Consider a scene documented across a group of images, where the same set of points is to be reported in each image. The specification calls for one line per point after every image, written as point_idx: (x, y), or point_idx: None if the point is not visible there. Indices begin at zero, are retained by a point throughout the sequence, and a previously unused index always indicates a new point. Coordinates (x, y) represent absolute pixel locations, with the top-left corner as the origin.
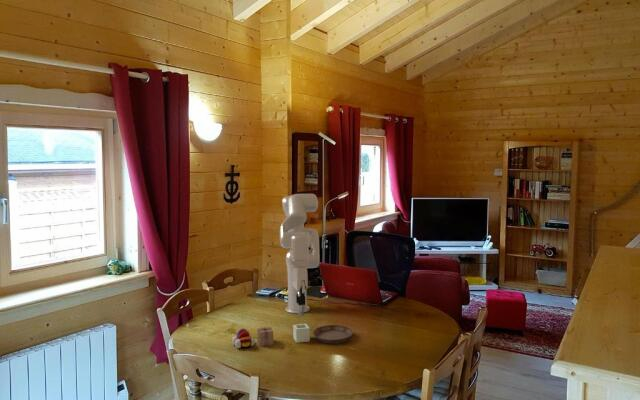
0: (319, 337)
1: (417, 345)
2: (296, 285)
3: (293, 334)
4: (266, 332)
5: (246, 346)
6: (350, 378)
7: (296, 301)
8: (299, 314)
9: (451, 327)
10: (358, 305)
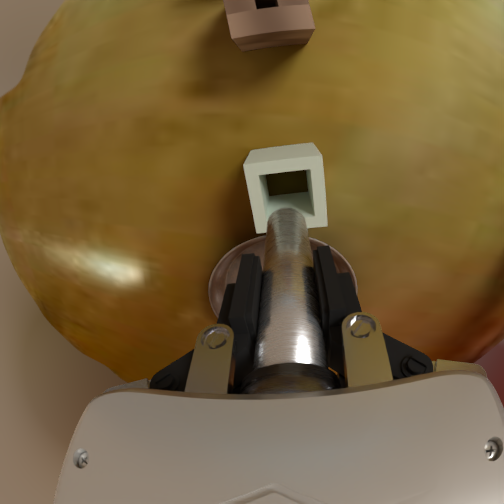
0: (233, 250)
1: None
2: (94, 457)
3: (311, 146)
4: (225, 8)
5: None
6: (43, 270)
7: (325, 252)
8: (271, 218)
9: None
10: (471, 356)
